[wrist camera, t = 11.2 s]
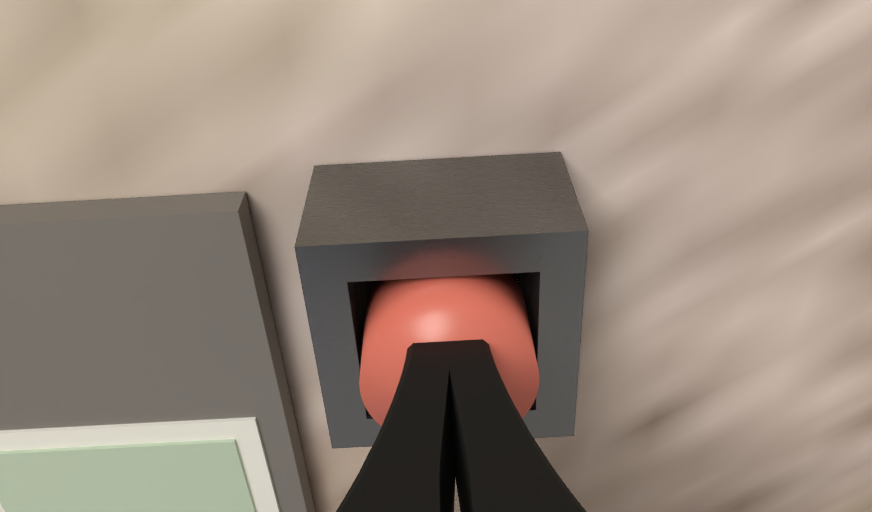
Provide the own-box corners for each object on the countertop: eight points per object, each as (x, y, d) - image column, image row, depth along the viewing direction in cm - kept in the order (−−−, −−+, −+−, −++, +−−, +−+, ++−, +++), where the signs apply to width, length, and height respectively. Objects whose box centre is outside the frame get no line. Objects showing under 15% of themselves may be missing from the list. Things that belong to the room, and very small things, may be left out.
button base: (552, 340, 18) (574, 435, 16) (343, 351, 18) (332, 448, 16) (560, 152, 15) (588, 230, 13) (314, 165, 15) (294, 247, 13)
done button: (524, 370, 16) (537, 443, 14) (373, 378, 16) (368, 451, 14) (527, 244, 14) (542, 310, 13) (356, 253, 14) (349, 320, 13)
